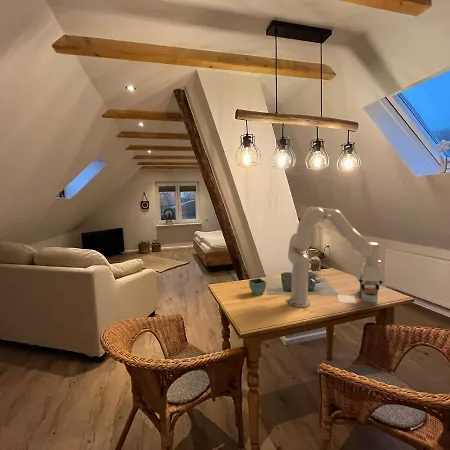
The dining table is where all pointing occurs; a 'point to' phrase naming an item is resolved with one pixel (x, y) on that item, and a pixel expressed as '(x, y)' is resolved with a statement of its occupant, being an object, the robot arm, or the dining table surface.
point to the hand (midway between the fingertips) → (369, 290)
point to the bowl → (369, 297)
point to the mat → (346, 299)
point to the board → (370, 289)
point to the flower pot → (257, 286)
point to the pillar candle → (367, 283)
